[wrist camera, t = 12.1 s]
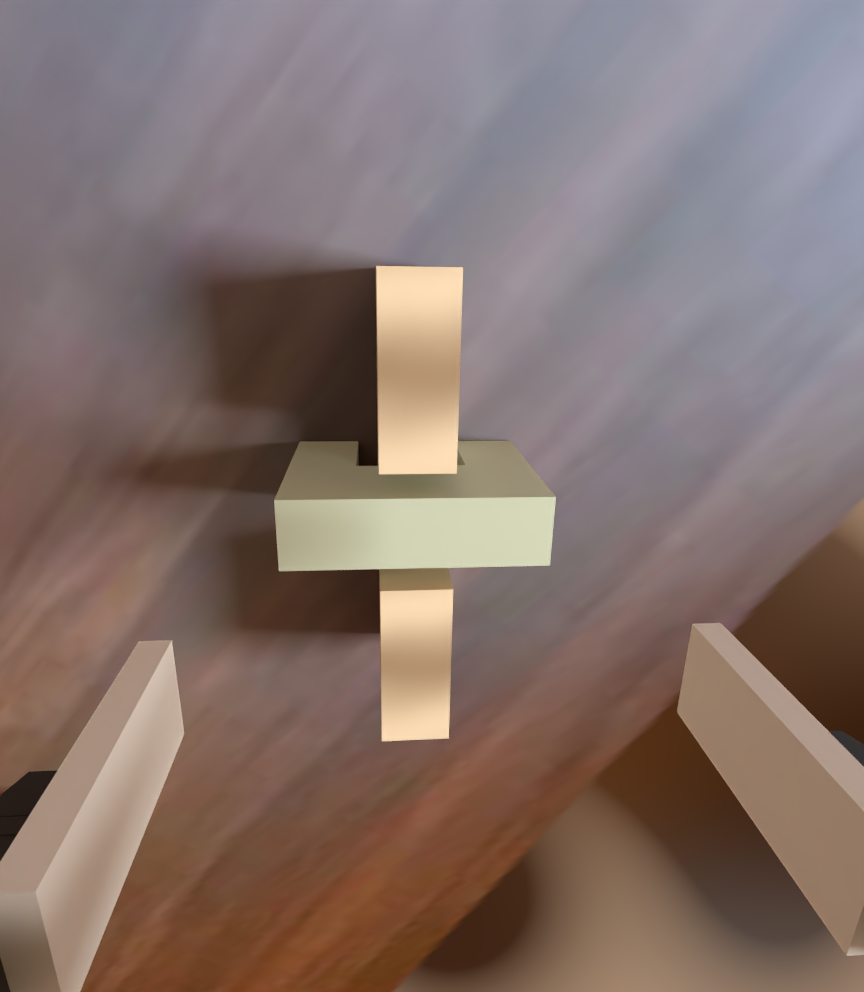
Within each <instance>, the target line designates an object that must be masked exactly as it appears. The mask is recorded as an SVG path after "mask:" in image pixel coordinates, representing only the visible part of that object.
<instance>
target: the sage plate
mask: <svg viewBox="0 0 864 992" xmlns="http://www.w3.org/2000/svg"><path fill="white" fill-rule="evenodd" d="M555 501H556V497H555V495H554V494H553V493H552V492H551V490H550V489H549V488H548V487H547V485H546V484H545V483H544V482H543V481H542V479H541V478H540V477H539V476H538V474H537V473H536V472H535V471H534V470H533V468H532V467H531V466H530V465H529V463H528V462H527V461H526V460H525V458H524V457H523V456H522V455H521V454H520V452H519V451H518V450H517V449H516V447H515V446H514V445H513V444H512V442H511V441H458V448H457V474H379V466H359V452H358V441H300V442H299V444H298V447H297V449H296V451H295V453H294V456H293V458H292V460H291V463H290V465H289V467H288V469H287V472H286V474H285V476H284V479H283V481H282V483H281V485H280V488H279V490H278V492H277V495H276V497H275V499H274V507H275V522H276V536H277V551H278V566H279V571H315V570H362V569H408V568H455V567H502V566H548V565H550V558H551V546H552V535H553V524H554V512H555Z"/></svg>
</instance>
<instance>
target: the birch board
mask: <svg viewBox="0 0 864 992" xmlns="http://www.w3.org/2000/svg"><path fill="white" fill-rule="evenodd" d="M462 285H463V268H462V267H408V266H376V345H377V428H378V466H379V474H457V448H458V415H459V383H460V350H461V318H462ZM379 594H380V662H381V716H382V741H398V740H420V739H441V738H449V709H450V677H451V644H452V611H453V587H452V583H451V579H450V575H449V571H448V568H408V569H379Z"/></svg>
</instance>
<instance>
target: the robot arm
mask: <svg viewBox="0 0 864 992" xmlns="http://www.w3.org/2000/svg"><path fill="white" fill-rule="evenodd" d="M677 713H678V714H679V715H680V717H681V718H682V720H683V721H684V723H685V724H686V726H687V727H688V728H689V730H690V731H691V733H692V734H693V736H694V737H695V739H696V740H697V741H698V743H699V744H700V746H701V747H702V749H703V750H704V751H705V753H706V754H707V756H708V757H709V759H710V760H711V762H712V763H713V764H714V766H715V767H716V769H717V770H718V772H719V773H720V774H721V776H722V777H723V779H724V780H725V782H726V783H727V784H728V786H729V787H730V789H731V790H732V792H733V793H734V794H735V796H736V797H737V799H738V800H739V802H740V803H741V805H742V806H743V807H744V809H745V810H746V812H747V813H748V815H749V816H750V818H751V819H752V820H753V822H754V823H755V825H756V826H757V828H758V829H759V831H760V832H761V833H762V835H763V836H764V838H765V839H766V841H767V842H768V843H769V845H770V846H771V848H772V849H773V851H774V852H775V853H776V855H777V856H778V858H779V859H780V861H781V862H782V864H783V865H784V866H785V868H786V869H787V871H788V872H789V874H790V875H791V877H792V878H793V879H794V881H795V882H796V884H797V885H798V887H799V888H800V889H801V891H802V892H803V893H804V895H805V897H806V898H807V900H808V901H809V902H810V904H811V905H812V907H813V908H814V910H815V911H816V912H817V914H818V915H819V917H820V918H821V920H822V921H823V923H824V924H825V925H826V927H827V928H828V929H829V931H830V933H831V934H832V935H833V937H834V938H835V940H836V941H837V943H838V944H839V946H840V947H841V948H842V950H843V951H844V953H845V954H846V956H852V955H862V954H864V745H863V744H862V743H860V742H859V741H857V740H856V739H854V738H852V737H851V736H849V735H847V734H846V733H844V732H842V731H827V729H826V728H825V727H823V725H822V724H821V723H820V722H819V721H818V720H817V719H816V718H815V717H814V716H813V715H811V713H809V712H808V710H807V709H806V708H805V707H804V706H803V705H802V704H801V703H800V702H799V701H798V700H797V699H796V698H795V697H794V696H793V695H792V694H791V693H790V692H789V691H788V690H787V689H786V688H785V687H784V686H783V685H782V684H781V683H780V682H779V681H778V680H777V679H776V678H775V677H774V676H773V675H772V674H771V673H770V672H769V671H768V670H767V669H766V668H765V667H764V666H763V665H762V664H761V663H760V662H759V661H758V660H757V659H756V658H755V657H754V656H753V655H752V654H751V653H750V652H749V651H748V650H747V649H746V648H745V647H744V646H743V645H742V644H741V643H740V642H739V641H738V640H737V639H736V638H735V637H734V636H733V635H732V634H731V633H730V632H729V631H728V630H727V629H726V628H725V627H724V626H723V625H722V624H721V623H703V624H692V629H691V635H690V641H689V646H688V652H687V658H686V663H685V669H684V675H683V680H682V686H681V692H680V697H679V703H678V709H677ZM183 736H184V728H183V721H182V713H181V706H180V698H179V691H178V683H177V676H176V668H175V661H174V654H173V646H172V640H164V641H139V642H138V643H137V645H136V647H135V648H134V650H133V651H132V653H131V655H130V656H129V658H128V659H127V661H126V662H125V664H124V666H123V667H122V669H121V670H120V672H119V674H118V675H117V677H116V678H115V680H114V682H113V683H112V685H111V686H110V688H109V690H108V691H107V693H106V694H105V696H104V697H103V699H102V701H101V702H100V704H99V705H98V707H97V709H96V710H95V712H94V713H93V715H92V717H91V718H90V720H89V721H88V723H87V725H86V726H85V728H84V729H83V731H82V732H81V734H80V736H79V737H78V739H77V740H76V742H75V744H74V745H73V747H72V748H71V750H70V752H69V753H68V755H67V756H66V758H65V759H64V761H63V763H62V764H61V766H60V767H59V769H58V771H38V772H28V773H27V774H26V775H25V776H24V777H22V778H21V779H20V780H19V781H17V782H16V783H15V784H14V785H13V786H11V787H10V788H9V789H8V790H6V791H5V792H4V793H3V794H2V796H1V797H0V992H80V990H81V988H82V985H83V983H84V981H85V978H86V976H87V973H88V971H89V968H90V966H91V963H92V961H93V958H94V956H95V953H96V951H97V948H98V946H99V943H100V941H101V938H102V936H103V934H104V931H105V929H106V926H107V924H108V921H109V919H110V916H111V914H112V911H113V909H114V906H115V904H116V901H117V899H118V896H119V894H120V891H121V889H122V887H123V884H124V882H125V879H126V877H127V874H128V872H129V869H130V867H131V864H132V862H133V859H134V857H135V854H136V852H137V849H138V847H139V844H140V842H141V840H142V837H143V835H144V832H145V830H146V827H147V825H148V822H149V820H150V817H151V815H152V812H153V810H154V807H155V805H156V802H157V800H158V798H159V795H160V793H161V790H162V788H163V785H164V783H165V780H166V778H167V775H168V773H169V770H170V768H171V765H172V763H173V760H174V758H175V755H176V753H177V751H178V748H179V746H180V743H181V741H182V738H183Z"/></svg>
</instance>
